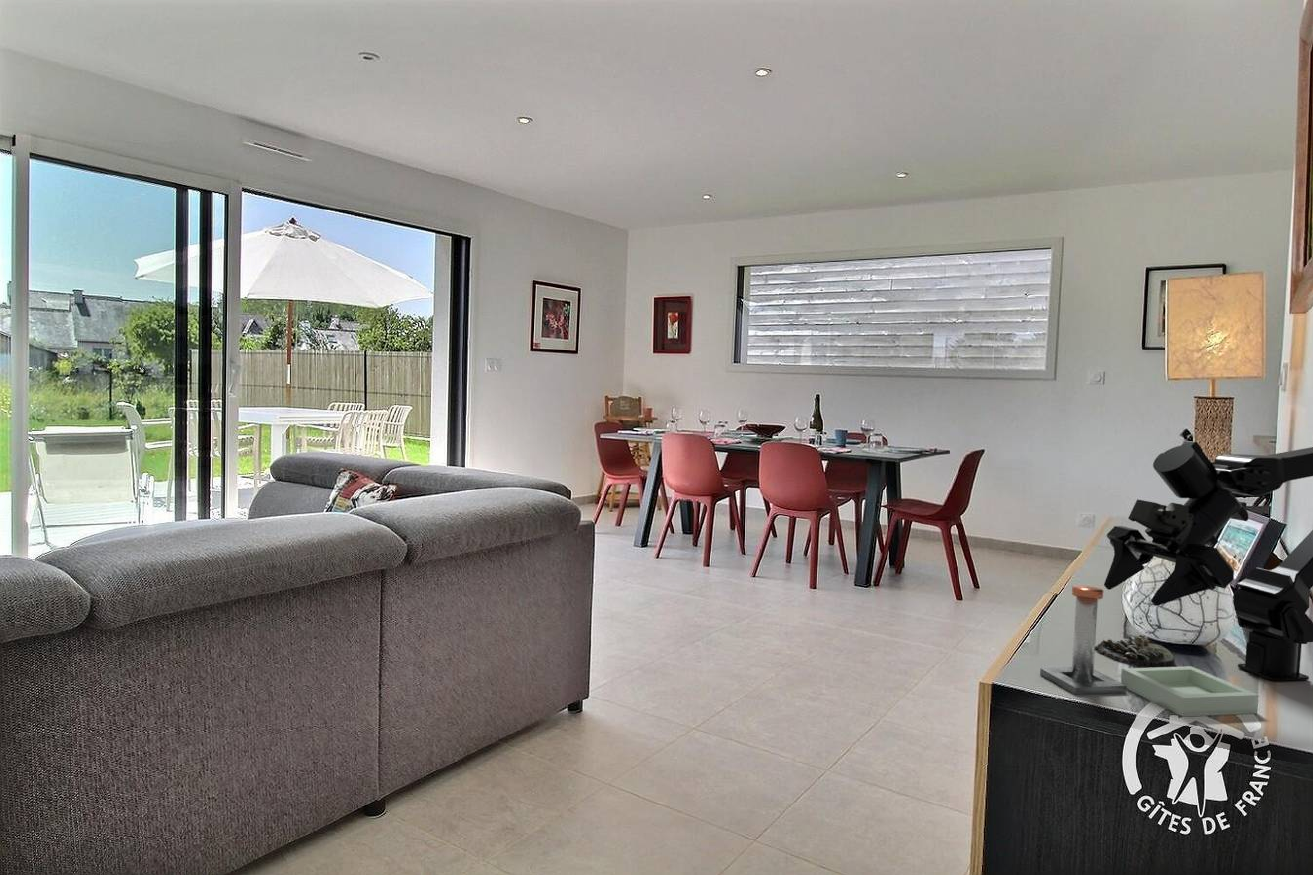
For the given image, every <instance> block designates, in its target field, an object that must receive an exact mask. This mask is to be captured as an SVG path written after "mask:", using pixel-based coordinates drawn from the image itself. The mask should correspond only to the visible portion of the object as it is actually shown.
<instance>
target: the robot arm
mask: <svg viewBox="0 0 1313 875" xmlns="http://www.w3.org/2000/svg"><path fill="white" fill-rule="evenodd" d="M1152 467H1153V469H1154V471H1155V472H1156V473H1157V474H1158V475H1159V477H1160V478H1161V480H1163V482H1164V483H1165V484H1166V485H1167V487H1168V488H1169V490H1170V491H1171V492H1173V495H1175V497H1177V498H1179V499H1187V501H1186V502H1185V503H1184V504H1182V503H1176V502H1170V503H1169V504H1167V505H1166V504H1160V503H1157V502H1154V501H1149V500H1143V499H1136V501H1135V503H1134V505H1133V507H1132V509H1131V511H1130V514H1129V515H1128V520H1130V521H1132V522H1136V523H1137V524H1140V525H1141V526H1143V527H1144V528H1146V529H1145V530H1144V532H1145V533H1146V534H1147V536H1148V537H1150V538H1152V540H1151V541H1150V540H1149V541H1148V540H1147V539H1146V538H1145V537H1144V535H1143V534H1142V533H1141V532H1140V530H1139V529H1135V528H1131V527H1127V526H1124V525H1123V526H1122V525H1115V526H1113V528H1111V530H1110V531H1109V532H1108V533H1107V534H1106V537H1107V538H1108V540H1109V544H1110V546H1112V548H1113V551H1114V552H1113V553H1114V555H1113V559H1112V563H1111V565H1110V568H1109V570H1108V573H1107V575H1106V578H1105V581H1104V584H1103V586H1104V587H1105V589H1107V590H1110V591H1111V590H1112V589H1115V587H1117V586H1119V585H1121V584H1123V583H1125V582H1126V581H1128V579H1130V578H1132V577H1133V576H1135V575H1136V574H1138V573H1139V572H1141V571H1142V570H1144V569H1145V566H1144V565H1146V564H1149V563H1150V562H1151V561H1152V560H1153V559H1154V558H1158V559H1161V560H1165V561H1168V562H1171V563H1174V568H1173V571H1172V572H1171V573H1170V574H1169V576H1168V577H1167V578H1166V579H1165V580H1164V582H1163V583H1162V584H1161V585H1160V587H1159V588H1158V589H1157V590H1156V591H1155V593H1154V595H1153V597H1152V598H1151V599H1150V602H1151V604H1152V605H1153V606H1156V607H1157V606H1161V605H1164V604H1167V603H1170V602H1173V601H1175V600H1178V599H1180V598H1184V597H1186V596H1191V595H1193V594H1197V593H1201V592H1204V591H1206V590H1210V591H1214V590H1216V588H1217V587H1218V588H1220V589H1226V588H1227V587H1228V586H1229V585H1230V583H1232V581H1233V580H1234V579H1235V578H1234V577H1235V570H1234V569H1233V566H1231V564H1230V563H1229V562H1228V561H1227V559H1226V558H1225V557H1224V555H1223V554H1222V553H1221V552H1220V551H1219V549H1218V548H1216V547H1215V546H1216V545H1217V544H1218V543H1219V540H1218V539H1217V538H1216V535H1217V534H1218V533H1219V531H1221V529H1222V528H1223V527H1224V526H1225V525H1226V524H1227V523H1228V522H1229V521H1230V519H1231V520H1237V521H1243V522H1248V520H1249V512H1248V510H1247V503H1246V502H1243V501H1240V500H1239V499H1238V498H1237V497H1236V495H1234V494H1238V495H1242V496H1252V497H1262V496H1265V495H1267V494H1270V493H1272V492H1274V491H1277V490H1279V489H1280V488H1281V487H1282V485H1283V484H1286V483H1288V482H1291V481H1294V480H1300V479H1305V478H1311V477H1313V446H1310V447H1306V448H1305V447H1304V448H1300V449H1295V450H1289V451H1283V452H1278V453H1272V454H1268V455H1265V454H1263V455H1260V454H1258V455H1257V454H1240V453H1239V454H1237V453H1236V454H1233V453H1231V454H1230V453H1225V454H1224V453H1223V454H1220V455H1218V456H1217V457H1216V458H1214V461H1211V460H1210V459H1209V458H1208V457H1207V455H1206V454H1205V453H1204V451H1203V448H1202V446H1201V445H1200V444H1199V443H1198V442H1197V441H1189V440H1185V441H1183V443H1182V444H1181V445H1179V446H1174V447H1171V448H1169V449H1168V450H1165V451H1164V452H1161V453H1159V454H1158V456H1156V458H1155V459H1154V461H1153V463H1152ZM1236 586H1238V587H1237V589H1236V591H1234V594H1233V595H1232V603H1233V607H1234V611H1235V616H1236V620H1237V623H1238V626H1239V628H1242V629H1248V630H1250V631H1248V641H1246V647H1245V660H1244V663H1238V664H1237V667H1238V668H1239V669H1242V670H1244V671H1247V672H1249V673H1251V674H1253V675H1257V676H1260V677H1261V678H1263V679H1264V678H1265V679H1267V680H1269V681H1273V682H1285V681H1286V682H1287V681H1308V680H1310V679H1309V678H1310V676H1309V675H1306V674H1304V673H1301V672H1300V669H1301V660H1302V659H1301V657H1302V645H1307V644H1308V643H1313V620H1312V619H1311V618H1310V616H1308V614H1307V611H1308V610H1309V608H1310V597H1311V596H1310V595H1311V593H1310V592H1311V589H1312V588H1313V529H1312V530H1311V531H1310V532H1309V533H1308V534H1307V535H1306V536H1305V538H1303V539H1302V541H1300V543H1299V544H1297V546H1296V547H1295V548H1294V549H1293V550H1292V551H1291V552H1290V553H1289V554H1288V556H1287V557H1285V558H1284V559H1283V561H1282V562H1280V564H1279V565H1278V566H1276V567H1275V568H1273V569H1266V568H1265V569H1264V568H1261V567H1257V566H1256V567H1254V568H1253V569H1251V570H1250V571H1249V573H1248V574H1247V576H1246V577H1245V578H1244V579H1243V580H1242V581H1240V582H1237V584H1236Z"/></svg>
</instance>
